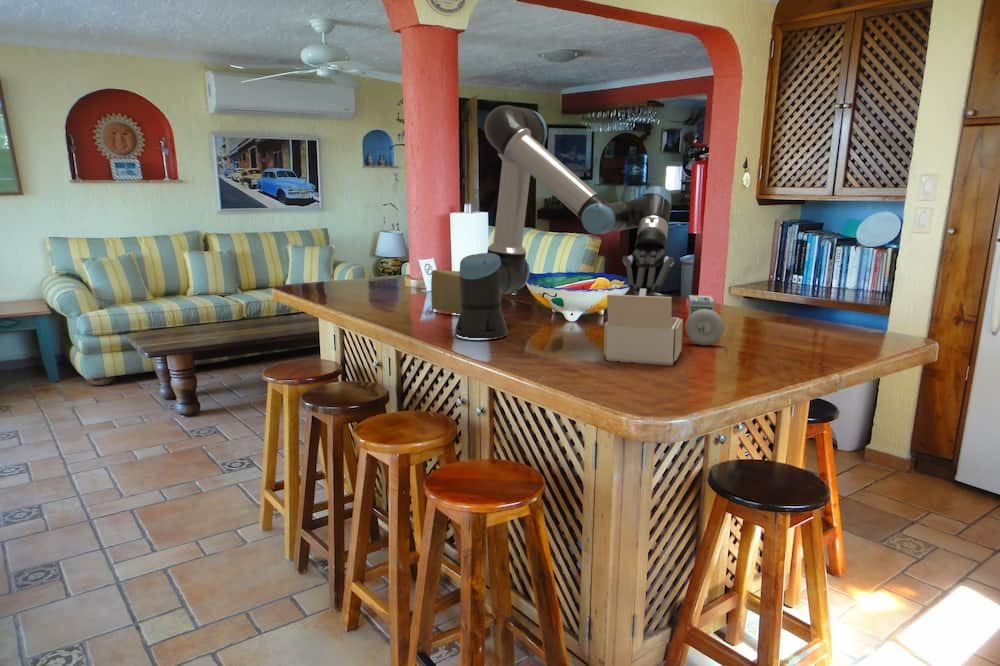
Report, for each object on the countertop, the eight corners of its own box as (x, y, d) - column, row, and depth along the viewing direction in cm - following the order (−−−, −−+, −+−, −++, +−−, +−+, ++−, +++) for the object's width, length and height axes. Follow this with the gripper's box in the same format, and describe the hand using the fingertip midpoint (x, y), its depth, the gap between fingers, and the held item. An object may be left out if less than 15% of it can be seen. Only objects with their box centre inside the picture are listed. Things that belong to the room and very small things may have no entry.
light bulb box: (714, 339, 193) (716, 301, 191) (689, 338, 194) (691, 300, 192) (710, 331, 203) (712, 295, 201) (687, 330, 204) (688, 294, 202)
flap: (608, 325, 168) (607, 295, 164) (608, 324, 168) (607, 294, 165) (671, 329, 163) (671, 297, 159) (671, 328, 163) (671, 297, 160)
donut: (684, 345, 185) (685, 309, 183) (684, 342, 188) (686, 306, 186) (723, 348, 182) (725, 310, 180) (723, 345, 185) (725, 308, 183)
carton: (602, 360, 171) (603, 324, 169) (614, 347, 184) (615, 314, 183) (675, 365, 165) (677, 329, 163) (682, 351, 178) (683, 317, 176)
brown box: (423, 314, 237) (422, 270, 234) (441, 309, 245) (440, 267, 242) (475, 320, 224) (474, 274, 221) (492, 315, 232) (491, 271, 229)
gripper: (624, 228, 176) (611, 303, 164) (677, 228, 172) (667, 305, 160) (627, 247, 182) (614, 321, 170) (678, 247, 178) (669, 323, 166)
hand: (640, 313), depth 165 cm, fingers closed
